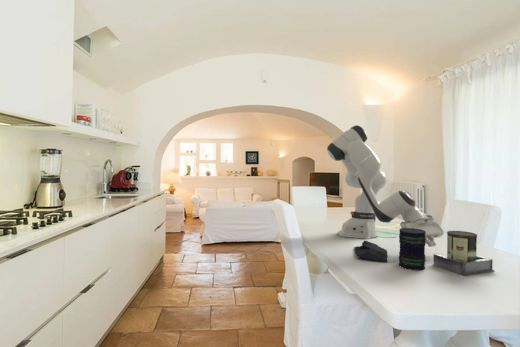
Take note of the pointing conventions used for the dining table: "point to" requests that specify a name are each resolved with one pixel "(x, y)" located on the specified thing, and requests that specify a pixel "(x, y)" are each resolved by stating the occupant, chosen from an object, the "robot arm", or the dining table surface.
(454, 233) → the coffee can
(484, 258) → the receiver bay
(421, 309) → the dining table surface
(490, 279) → the dining table surface
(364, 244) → the dark slate chunk
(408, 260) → the storage jar
